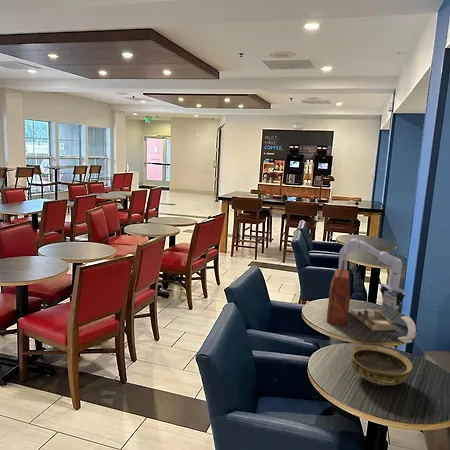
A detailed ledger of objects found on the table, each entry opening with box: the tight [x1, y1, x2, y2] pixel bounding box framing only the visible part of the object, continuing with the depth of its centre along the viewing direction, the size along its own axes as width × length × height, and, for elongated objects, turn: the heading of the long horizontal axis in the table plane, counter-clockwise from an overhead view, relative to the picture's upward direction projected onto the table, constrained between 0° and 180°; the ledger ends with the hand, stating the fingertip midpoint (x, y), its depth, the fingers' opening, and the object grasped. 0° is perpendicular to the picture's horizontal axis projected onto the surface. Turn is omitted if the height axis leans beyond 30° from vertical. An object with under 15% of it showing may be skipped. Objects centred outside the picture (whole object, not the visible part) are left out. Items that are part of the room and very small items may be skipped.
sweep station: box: [349, 309, 394, 331], centre depth 228 cm, size 24×12×4 cm, turn 11°
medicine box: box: [381, 290, 400, 311], centre depth 230 cm, size 8×4×9 cm, turn 34°
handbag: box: [326, 259, 351, 327], centre depth 226 cm, size 10×19×35 cm, turn 165°
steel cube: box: [363, 308, 375, 319], centre depth 226 cm, size 4×4×4 cm
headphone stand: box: [397, 315, 417, 344], centre depth 205 cm, size 5×6×12 cm
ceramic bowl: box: [349, 344, 413, 387], centre depth 165 cm, size 30×24×10 cm
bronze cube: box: [371, 308, 383, 319], centre depth 227 cm, size 4×4×4 cm
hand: (390, 302), depth 230 cm, fingers closed on medicine box, 7 cm apart
